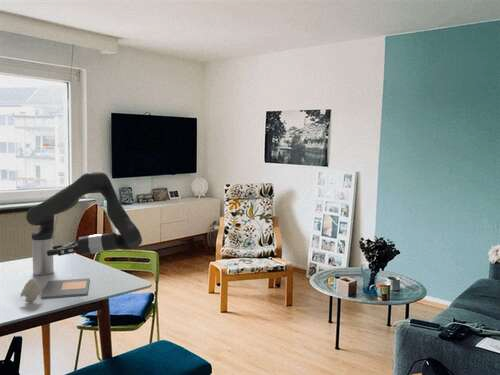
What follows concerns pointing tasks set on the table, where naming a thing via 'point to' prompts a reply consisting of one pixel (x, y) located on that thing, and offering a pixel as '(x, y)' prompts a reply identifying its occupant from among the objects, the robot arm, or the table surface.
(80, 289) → the mat
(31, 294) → the arrowhead
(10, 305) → the table surface
